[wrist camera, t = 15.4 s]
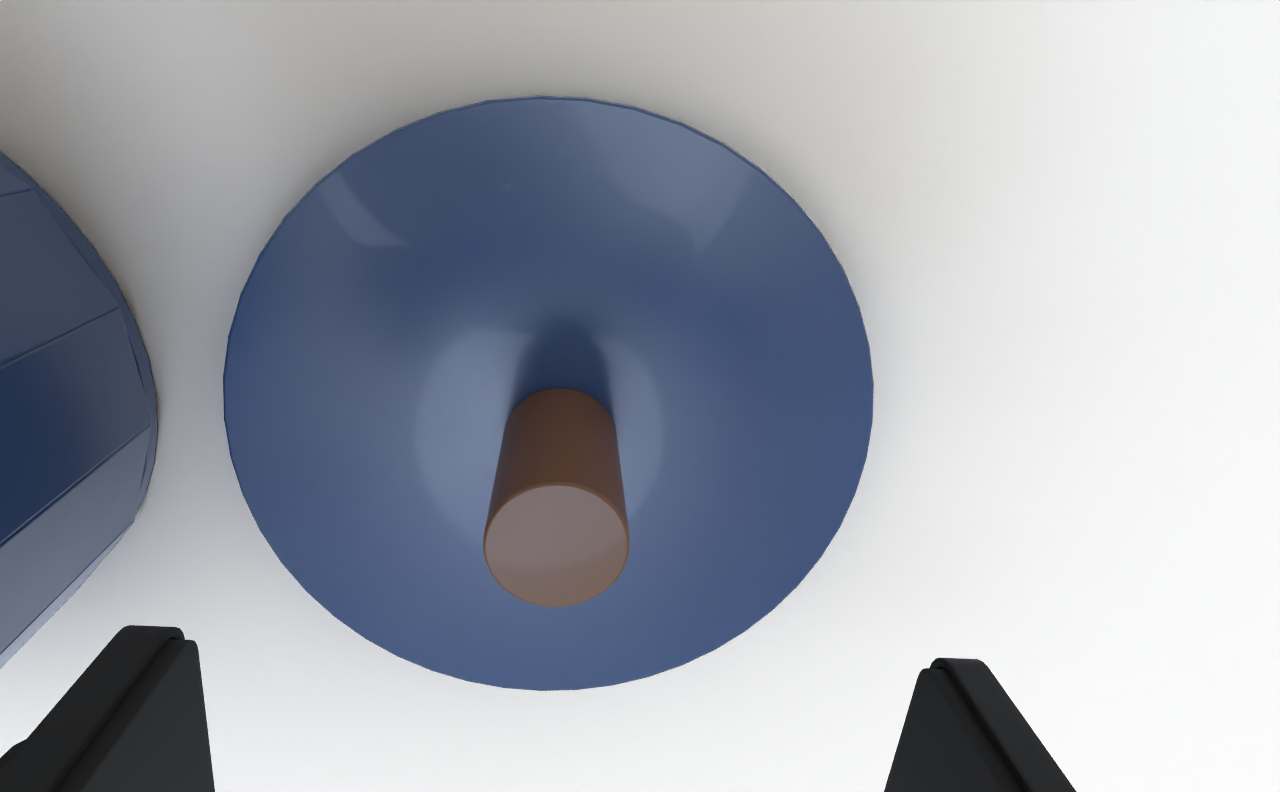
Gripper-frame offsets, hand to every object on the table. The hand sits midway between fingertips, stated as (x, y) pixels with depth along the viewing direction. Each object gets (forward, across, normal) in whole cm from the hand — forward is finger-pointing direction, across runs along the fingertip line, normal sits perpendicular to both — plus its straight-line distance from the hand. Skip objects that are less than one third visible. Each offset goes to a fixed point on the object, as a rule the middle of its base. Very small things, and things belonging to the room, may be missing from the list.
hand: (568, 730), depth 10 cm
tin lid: (+9, 0, 0) cm, 9 cm away
